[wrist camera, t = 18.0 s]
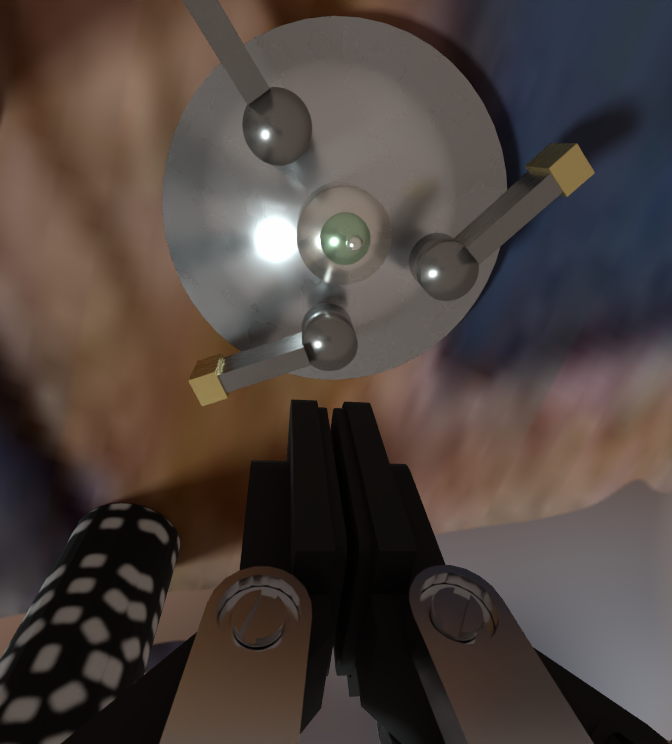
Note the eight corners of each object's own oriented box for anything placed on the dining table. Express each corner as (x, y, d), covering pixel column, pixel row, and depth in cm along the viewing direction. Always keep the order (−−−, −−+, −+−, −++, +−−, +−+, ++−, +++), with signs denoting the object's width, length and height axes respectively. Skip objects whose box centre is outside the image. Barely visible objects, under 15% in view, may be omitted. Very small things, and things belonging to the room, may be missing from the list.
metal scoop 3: (430, 296, 28) (447, 315, 25) (397, 259, 27) (411, 274, 24) (564, 179, 26) (601, 183, 23) (535, 132, 25) (569, 131, 22)
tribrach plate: (91, 169, 25) (44, 175, 21) (403, -75, 22) (433, -136, 17) (295, 418, 34) (294, 464, 29) (545, 271, 30) (592, 295, 25)
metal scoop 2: (343, 296, 28) (349, 315, 25) (358, 341, 29) (365, 365, 26) (195, 345, 29) (182, 370, 26) (216, 387, 30) (207, 415, 27)
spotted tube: (184, 575, 40) (95, 921, 22) (84, 577, 39) (-91, 938, 21) (175, 502, 36) (60, 847, 19) (65, 503, 36) (-165, 864, 18)
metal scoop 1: (322, 140, 24) (325, 140, 21) (272, 175, 25) (269, 180, 22) (200, -72, 20) (183, -112, 17) (144, -24, 21) (117, -54, 18)
